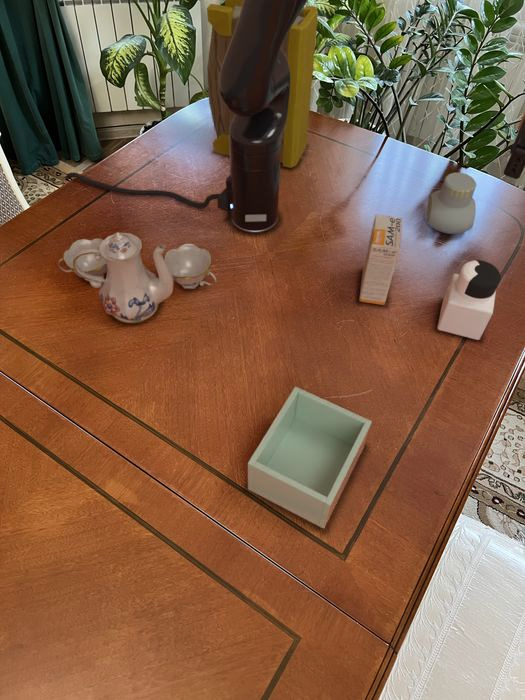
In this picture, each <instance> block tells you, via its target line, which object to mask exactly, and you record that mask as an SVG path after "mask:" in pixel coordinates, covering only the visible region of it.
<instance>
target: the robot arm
mask: <svg viewBox="0 0 525 700" xmlns="http://www.w3.org/2000/svg"><path fill="white" fill-rule="evenodd" d="M307 2H308V0H243V3H242V8H241V12H240V16H239V19H238V22H237V25H236V28H235V31H234V34H233V37H232V39H231V42H230V45H229V47H228V50H227V53H226V55H225V58H224V60H223V63H222V66H221V69H220V73H219V90H220V94H221V97H222V100H223V102H224V104H225V105H226V107H227V108H228V109H229V110H230V111H231V112H232V113H234V114H235V116H234V118H233V119H232V121H231V124H230V127H229V152H230V156H229V175H228V176H227V177H226V179H225V188H224V189H223V190H222V191H221V192H220V193H213V194H210V195H207V196H206V197H205V199H204V201H203V202H195V201H192V200H190V199H187V198H186V197H184V196H181V195H180V194H178V193H175V192H173V191H172V192H171V191H167V190H160V189H159V190H156V189H145V190H144V189H130V188H129V189H128V188H124V187H123V188H122V187H118V186H113V185H110V184H107V183H103V182H101V181H97V180H95V179H94V180H93V179H90V178H89V177H86V176H84V175H82V174H81V173H78V172H72V171H71V172H69V173H67V174H66V175H65V178H64V179H67V180H71V179H72V178H75V179H78V180H80V181H82V182H83V183H86V184H88V185H90V186H94V187H98V188H100V189H103V190H106V191H109V192H114V193H119V194H125V195H132V196H162V197H168V198H172V199H174V200H177V201H180V202H181V203H183V204H185V205H188V206H189V207H193V208H196V209H202V208H203V209H204V208H206V207H208V206H209V204H210V202H211V201H213V200H216V201H217V209H219V210H222V211H225V212H226V219H227V221H229V222H231V224H232V225H233V226H234V227H235V228H236V229H237V230H239V231H240V232H243V233H247V234H257V235H258V234H262V233H263V234H264V233H266V232H269V231H270V230H273V228H275V227H276V226H277V224H278V221H279V200H280V199H279V198H280V197H279V196H280V180H281V179H280V178H281V177H280V176H281V162H280V160H281V140H282V133H283V130H284V128H285V125H286V121H287V114H288V104H289V94H290V80H291V79H290V67H289V62H288V59H287V57H286V55H285V53H284V51H283V50H282V48H281V46H282V43H283V41H284V39H285V37H286V35H287V33H288V31H289V30H290V28H291V26H292V25H293V23H294V22H295V20H296V18H297V17H298V15H299V14H300V12H301V10H302V9H304V8H305V5H306V3H307ZM519 121H520V122H519V124H518V126H517V135H516V137H515V140H514V142H513V144H512V145H511V146H510V148H509V150H510V151H509V154H510V156H509V158H508V161H507V163H506V165H505V168H504V170H503V175H504V176H505V177H509V178H511V179H514V180H518V179H520V178H521V176H522V173H523V172H524V170H525V112H524V113H523V115H522V117H521V120H519ZM76 177H77V178H76Z"/></svg>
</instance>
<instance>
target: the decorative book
mask: <svg viewBox="0 0 525 700" xmlns="http://www.w3.org/2000/svg"><path fill="white" fill-rule="evenodd" d="M242 3H243V0H224V5H221V4H215V3H209V5H208V6H207V8H206V14H207V21H208V23H209V24H210V25H211V36H210V43H209V51H208V58H207V66H206V70H207V73H206V74H207V89H208V104H209V108H210V113H211V118H212V123H213V127H214V131H215V135H216V138H214V140H213V141H212V142H211V143H212V147H213V151H214V153H216V154H220V155H224V156H229V157H230V152H229V127H230V124H231V121H232V119H233V118H234V116H235V114H234V113H232V112H231V111H230V110H229V109H228V108H227V107H226V105H225V104H224V102H223V100H222V97H221V94H220V90H219V73H220V69H221V66H222V63H223V60H224V58H225V55H226V53H227V50H228V47H229V45H230V42H231V39H232V37H233V34H234V31H235V28H236V25H237V22H238V19H239V16H240V12H241V8H242ZM318 16H319V10H318V7H316V6H314V5H306V6H304V8H303V9H302V10H301V12H300V14H299V15H298V17H297V18H296V20H295V22H294V23H293V25H292V26H291V28H290V30H289V31H288V33H287V35H286V37H285V39H284V41H283V43H282V46H281V48H282V50H283V51H284V53H285V55H286V57H287V59H288V62H289V67H290V79H291V80H290V94H289V104H288V114H287V121H286V125H285V128H284V130H283V133H282V140H281V160H280V163H282V167H285V168H289V169H292V168H294V167H296V166H297V165H298V162H299V161H300V159H301V157H302V156H303V154H304V152H305V150H306V149H307V141H308V131H309V121H310V120H309V118H310V108H311V98H312V97H311V96H312V95H311V94H312V84H313V75H314V74H313V73H314V64H315V63H314V62H315V53H316V52H315V51H316V39H317V27H318Z"/></svg>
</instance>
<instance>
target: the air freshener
mask: <svg viewBox="0 0 525 700" xmlns="http://www.w3.org/2000/svg"><path fill="white" fill-rule="evenodd" d="M476 188H477V182H476V180H475V179H474V177H472V176H471V175H469V174H467V173H464V172H452V173H449V174H447V175H446V176H445V178H444V181H443V183H442V186H441V189H439V190H436V191H434V192H432V193H430V194H429V197H428V200H427V204H426V205H427V206H426V218H425V219H426V223H427V225H429V227H431V228H432V229H434V230H435V231H437V232H439V233H443V234H448V235H457V234H463V233H465V232H468V231H470V230H471V229H473V227H474V223H475V220H476V211H477V210H476V209H477V206H476V200H475V199H474V198H473V196H474V194H475V191H476Z"/></svg>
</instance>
